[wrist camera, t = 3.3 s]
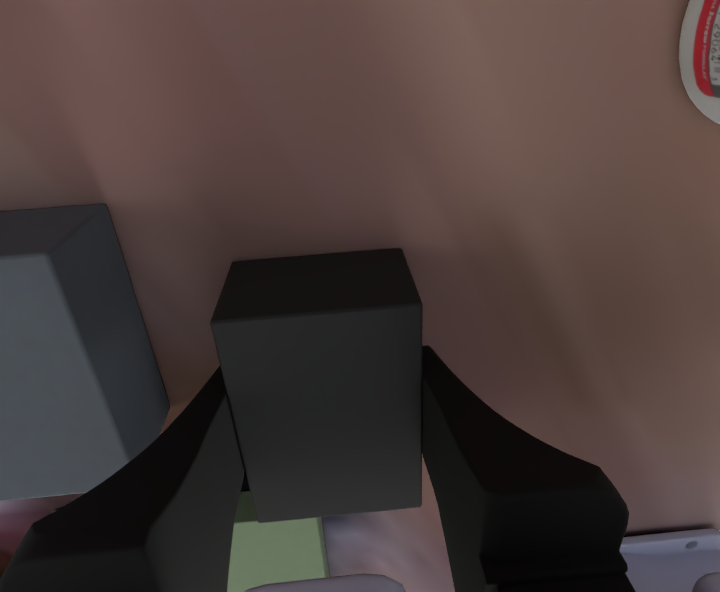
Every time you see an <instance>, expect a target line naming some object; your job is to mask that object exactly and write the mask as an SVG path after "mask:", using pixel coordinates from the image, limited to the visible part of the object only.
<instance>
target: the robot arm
mask: <svg viewBox="0 0 720 592" xmlns="http://www.w3.org/2000/svg"><path fill="white" fill-rule="evenodd" d="M422 454H423V458H424V461H425V464H426V467H427V470H428V473H429V476H430V480H431V483H432V486H433V489H434V492H435V496H436V500H437V503H438V508H439V512H440V517H441V522H442V527H443V532H444V536H445V541H446V546H447V551H448V556H449V562H450V567H451V572H452V577H453V582H454V588H455V592H720V532H719V530H717V529H715V528H707V529H697V530H688V531H678V532H669V533H659V534H650V535H640V536H631V537H624V534H625V531H626V527H627V524H628V518H629V512H628V509H627V505H626V503H625V502H624V500H623V499H622V497H621V495H620V494H619V492H618V491H617V489H616V488H615V486H614V485H613V484H612V482H611V481H610V480H609V479H608V477H607V476H606V475H605V474H604V472H603V471H602V470H601V468H600V467H598V466H596V465H593V464H591V463H589V462H586V461H584V460H581V459H579V458H576V457H574V456H572V455H569V454H567V453H565V452H562V451H560V450H558V449H556V448H554V447H552V446H550V445H548V444H546V443H544V442H543V441H541V440H539V439H537V438H535V437H533V436H532V435H530V434H528V433H527V432H525V431H523V430H522V429H520V428H518V427H517V426H515V425H514V424H512V423H511V422H509V421H508V420H506V419H505V418H503V417H502V416H501V415H499V414H498V413H497V412H495V411H494V410H493V409H491V408H490V407H489V406H488V405H486V404H485V403H484V402H483V401H482V400H481V399H480V398H478V397H477V396H476V395H475V394H474V393H473V392H472V391H471V390H470V389H469V388H467V387H466V386H465V385H464V384H463V383H462V382H461V381H460V380H459V379H458V378H457V377H456V375H455V374H454V373H453V372H452V371H451V370H450V369H449V368H448V367H447V366H446V365H445V363H444V362H443V361H442V360H441V359H440V358H439V356H438V355H437V354H436V353H435V352H434V350H433V349H432V348H431V347H430V346H422ZM244 473H245V466H244V462H243V458H242V454H241V450H240V445H239V441H238V437H237V433H236V429H235V425H234V420H233V416H232V412H231V408H230V404H229V399H228V395H227V391H226V387H225V383H224V378H223V374H222V370H221V366H219V368H218V369H217V370H216V371H215V372H214V374H213V375H212V376H211V378H210V379H209V380H208V381H207V383H206V384H205V385H204V386H203V388H202V389H201V390H200V391H199V393H198V394H197V395H196V396H195V398H194V399H193V400H192V401H191V402H190V403H189V405H188V406H187V407H186V408H185V409H184V411H183V412H182V413H181V414H180V415H179V416H178V417H177V418H176V419H175V420H174V421H173V423H172V424H171V425H170V426H169V427H168V428H167V429H166V430H165V431H164V432H163V433H162V434H161V435H160V436H159V437H158V438H157V439H156V440H155V441H154V442H152V443H151V444H150V445H149V446H148V447H147V448H146V449H145V450H143V451H142V452H141V453H140V454H139V455H138V456H136V457H135V458H134V459H132V460H131V461H130V462H129V463H127V464H126V465H125V466H123V467H122V468H121V469H120V470H118V471H117V472H116V473H114V474H113V475H112V476H110V477H109V478H108V479H106V480H105V481H103V482H102V483H100V484H99V485H97V486H96V487H94V488H93V489H91V490H90V491H88V492H87V493H85V494H84V495H82V496H80V497H79V498H77V499H76V500H74V501H72V502H71V503H69V504H67V505H65V506H64V507H62V508H60V509H58V510H57V511H55V512H53V513H51V514H49V515H48V516H46V517H44V518H42V519H41V520H39V521H37V522H35V523H33V524H32V526H31V527H30V529H29V530H28V532H27V533H26V535H25V537H24V538H23V540H22V541H21V543H20V545H19V547H18V549H17V550H16V552H15V554H14V556H13V557H12V559H11V561H10V563H9V565H8V566H7V568H6V570H5V572H4V574H3V575H2V577H1V579H0V592H227V586H228V575H229V565H230V555H231V546H232V537H233V528H234V521H235V515H236V510H237V505H238V501H239V496H240V492H241V487H242V482H243V478H244ZM245 592H405V590H404V588H403V586H402V584H400V583H399V582H397V581H395V580H393V579H391V578H389V577H387V576H385V575H378V574H356V575H346V576H337V577H327V578H318V579H308V580H299V581H289V582H280V583H270V584H265V585H261V586H257V587H254V588H250V589H247V590H246V591H245Z"/></svg>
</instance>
